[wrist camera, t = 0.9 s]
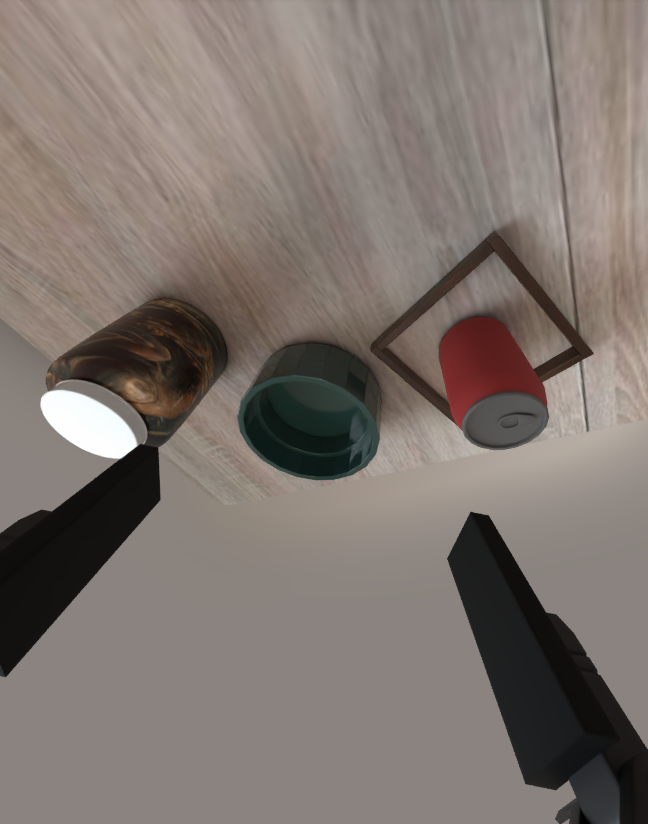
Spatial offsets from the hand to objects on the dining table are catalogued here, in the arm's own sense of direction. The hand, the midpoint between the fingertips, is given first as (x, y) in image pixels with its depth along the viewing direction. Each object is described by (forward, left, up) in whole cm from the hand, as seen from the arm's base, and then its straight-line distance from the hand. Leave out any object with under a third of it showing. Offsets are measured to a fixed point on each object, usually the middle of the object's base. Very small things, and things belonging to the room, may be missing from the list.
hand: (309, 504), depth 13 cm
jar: (+18, -12, -23) cm, 32 cm away
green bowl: (+12, +5, -23) cm, 27 cm away
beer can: (-5, +12, -23) cm, 26 cm away
